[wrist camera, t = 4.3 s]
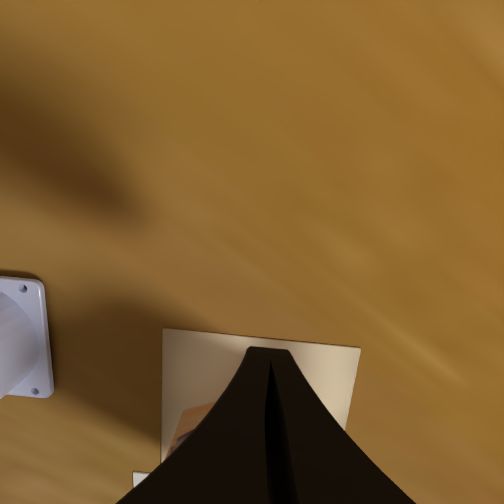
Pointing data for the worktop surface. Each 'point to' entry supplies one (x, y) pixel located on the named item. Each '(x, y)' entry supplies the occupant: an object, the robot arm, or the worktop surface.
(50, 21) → the worktop surface
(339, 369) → the shelf board
